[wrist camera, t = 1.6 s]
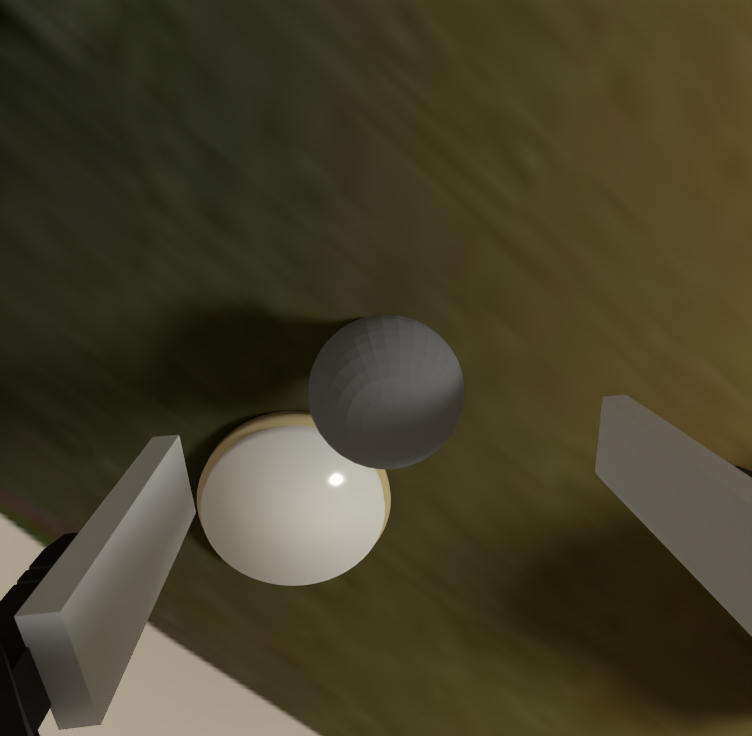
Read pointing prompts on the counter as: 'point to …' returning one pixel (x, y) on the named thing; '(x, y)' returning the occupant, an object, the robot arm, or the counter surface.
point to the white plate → (289, 502)
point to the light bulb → (385, 391)
